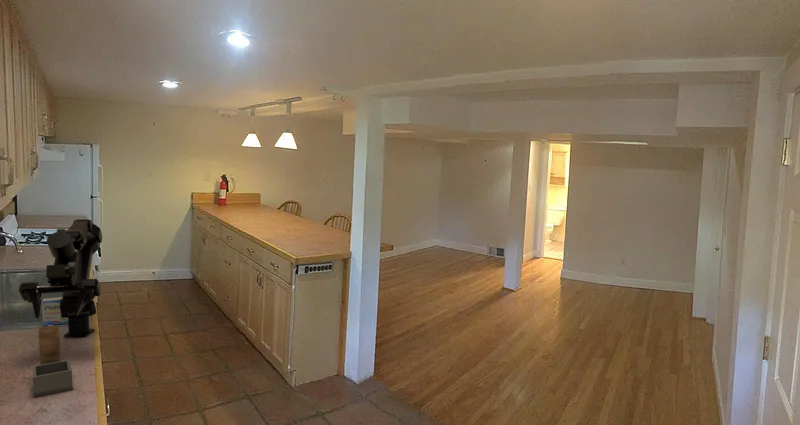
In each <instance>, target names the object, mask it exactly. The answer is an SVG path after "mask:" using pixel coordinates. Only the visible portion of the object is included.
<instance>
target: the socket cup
mask: <svg viewBox="0 0 800 425" xmlns="http://www.w3.org/2000/svg"><path fill="white" fill-rule="evenodd" d="M31 368H32V386H33V387H32V388H33V398H39V397H44V396H49V395H54V394H59V393H63V392H69V391H73V390H74V389H73V388H74V385H73V370H72V369H73V368H72V364H71V361H70V359H65V360H64V359H63V360H61V361H58V362H52V363H47V364H41V365H40V364H36V365H32V367H31Z"/></svg>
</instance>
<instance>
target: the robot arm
mask: <svg viewBox="0 0 800 425" xmlns="http://www.w3.org/2000/svg"><path fill="white" fill-rule="evenodd" d="M101 243H103V232H102V230H101V227H100V226H98V225H96V224H94V223H93V221H92V219H87V218H84V219H81V218H80V219H73V222H72V225H70V227H68V228H67V229H65V228H57V229H56V232H53V233H52V234H50V235H48V237H47V238H46V244H47V246H48V248H49V251H50V253H51V254H50V255H52V257H53V258H54V260H53V261H54V262H53V264H50V265H49V264H48V265H46V269H45V278H46V279H47V283H48V284H49V285H42V286H41V285H40V284H39V282H38V281H24V282H22V283H21V284H20V285H18V286H19V287H18V293H19V294H20V295H21V298H22V299H23V300H24V301H28V303H31V304H32V309H33V311H34V316H35V318H36V320H38V319H39V317H40V314H41V308H42V299H41V297H42V296H43V295H42V294H55V293H57V294H58V293H59V294H61V293H62V294H63V295H62V297H63V298H62V299H61V300H60V311H61V317H62V318H66V317H68V324H67V327H68V332H67V333H65V334H63V337H64V338H85V337H87V336H88V335H89V334H91V333H92V332H94V331H95V328H90V325H91V324H90V317H93V316H94V315H96V314H97V308H96V307H97V306H96V303H95V300H94V299H95V297H100V296H101V291H102V290H101V285H100V282H99V281H100V280H98V279H97V278H90V273H91V267H92V263H93V262H92V261H93V255H94V254H95V253H96V252H97V251H98V250H100V245H101Z"/></svg>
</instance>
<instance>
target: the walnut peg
mask: <svg viewBox="0 0 800 425" xmlns="http://www.w3.org/2000/svg"><path fill="white" fill-rule="evenodd" d="M59 326H60V325H55V326H46V327H44V326H42V327H40V328H39V329H38V344H39V345H38V346H39V362H40V363H39V365H41V364H47V363H52V362H58V361H62V359H61V358H62V357H61V340H60V327H59Z"/></svg>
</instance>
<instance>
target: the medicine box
mask: <svg viewBox="0 0 800 425" xmlns="http://www.w3.org/2000/svg"><path fill="white" fill-rule="evenodd" d="M62 298H63V296H58V297H47V298H46V297H45V298H43V299H42V300H41V308H42V311H41V312H42V327H44V326H48V325H55V326H60V325H59V324H64V325H68V317H66V318H62V317H61V311H60V300H61V299H62Z"/></svg>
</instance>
